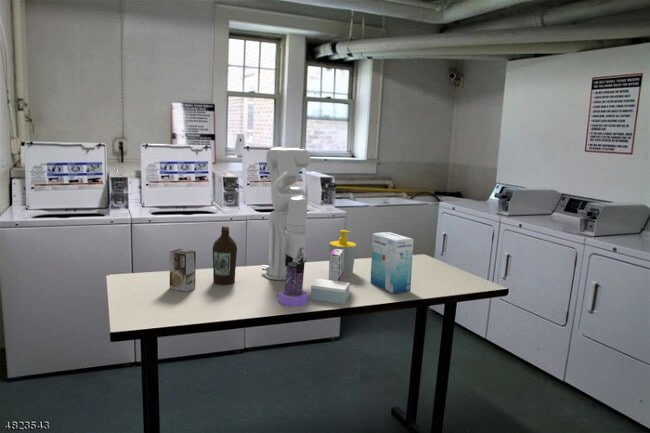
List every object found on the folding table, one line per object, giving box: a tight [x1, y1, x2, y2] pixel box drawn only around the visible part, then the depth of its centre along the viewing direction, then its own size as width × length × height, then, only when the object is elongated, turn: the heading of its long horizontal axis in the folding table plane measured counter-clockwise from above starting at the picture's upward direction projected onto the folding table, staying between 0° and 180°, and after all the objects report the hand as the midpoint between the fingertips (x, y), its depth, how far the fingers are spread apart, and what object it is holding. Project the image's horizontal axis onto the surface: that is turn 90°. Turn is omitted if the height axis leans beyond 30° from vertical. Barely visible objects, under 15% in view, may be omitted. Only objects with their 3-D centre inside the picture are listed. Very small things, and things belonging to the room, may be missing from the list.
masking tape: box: [278, 289, 309, 307], centre depth 206 cm, size 12×12×4 cm
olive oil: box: [212, 225, 238, 286], centre depth 225 cm, size 11×11×25 cm
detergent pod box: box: [310, 278, 351, 305], centre depth 213 cm, size 14×10×6 cm
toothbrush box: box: [370, 231, 414, 294], centre depth 231 cm, size 18×10×24 cm, turn 30°
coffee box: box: [168, 248, 197, 293], centre depth 214 cm, size 9×6×16 cm
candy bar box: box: [328, 249, 344, 282], centre depth 227 cm, size 11×5×16 cm, turn 168°
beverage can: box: [284, 261, 305, 295], centre depth 205 cm, size 7×7×12 cm
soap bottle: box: [329, 229, 357, 277], centre depth 251 cm, size 13×13×21 cm
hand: (294, 269), depth 205 cm, fingers open, 9 cm apart
